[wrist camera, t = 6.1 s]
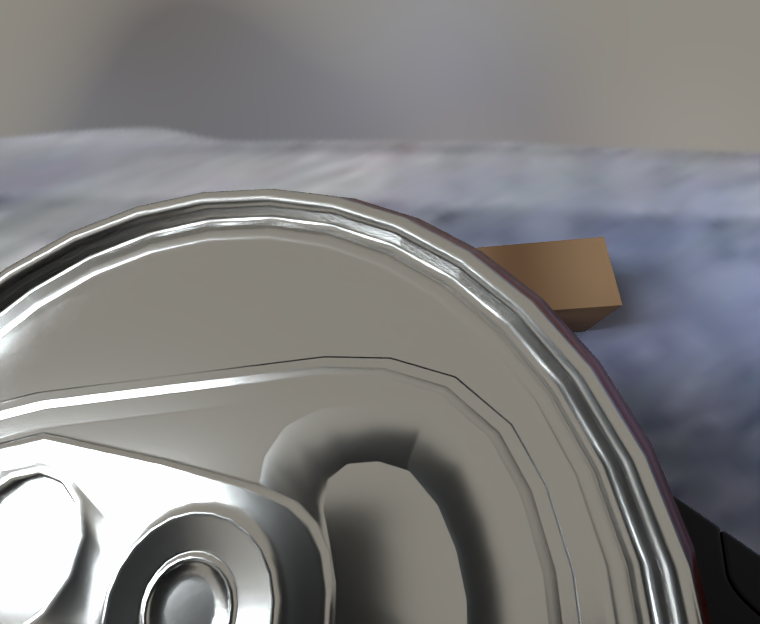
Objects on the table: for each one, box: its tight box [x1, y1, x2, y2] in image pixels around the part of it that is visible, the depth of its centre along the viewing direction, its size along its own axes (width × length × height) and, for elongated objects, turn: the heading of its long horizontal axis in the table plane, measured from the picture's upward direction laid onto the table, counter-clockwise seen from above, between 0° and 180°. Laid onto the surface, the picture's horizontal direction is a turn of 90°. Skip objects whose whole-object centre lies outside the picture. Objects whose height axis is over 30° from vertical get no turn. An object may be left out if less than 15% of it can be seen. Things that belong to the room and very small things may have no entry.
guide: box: [476, 237, 622, 332], centre depth 13 cm, size 21×14×4 cm
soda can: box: [0, 189, 711, 624], centre depth 8 cm, size 7×7×12 cm
